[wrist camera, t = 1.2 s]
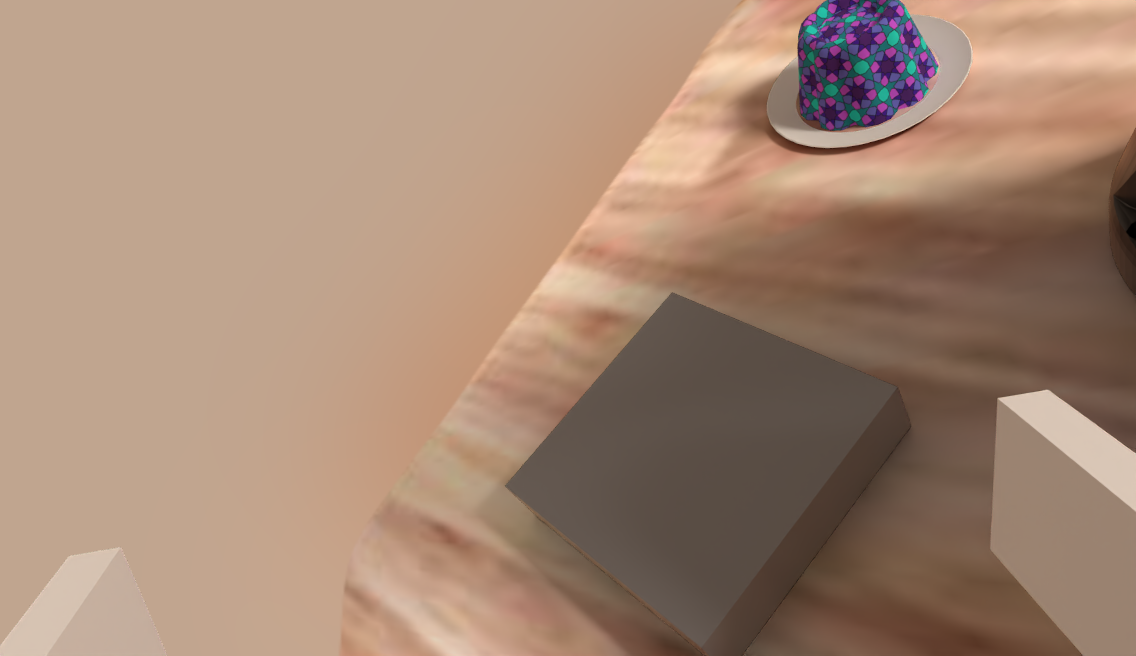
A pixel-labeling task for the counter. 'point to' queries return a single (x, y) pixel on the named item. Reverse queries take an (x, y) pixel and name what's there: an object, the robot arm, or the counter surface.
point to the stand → (711, 468)
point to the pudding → (866, 72)
